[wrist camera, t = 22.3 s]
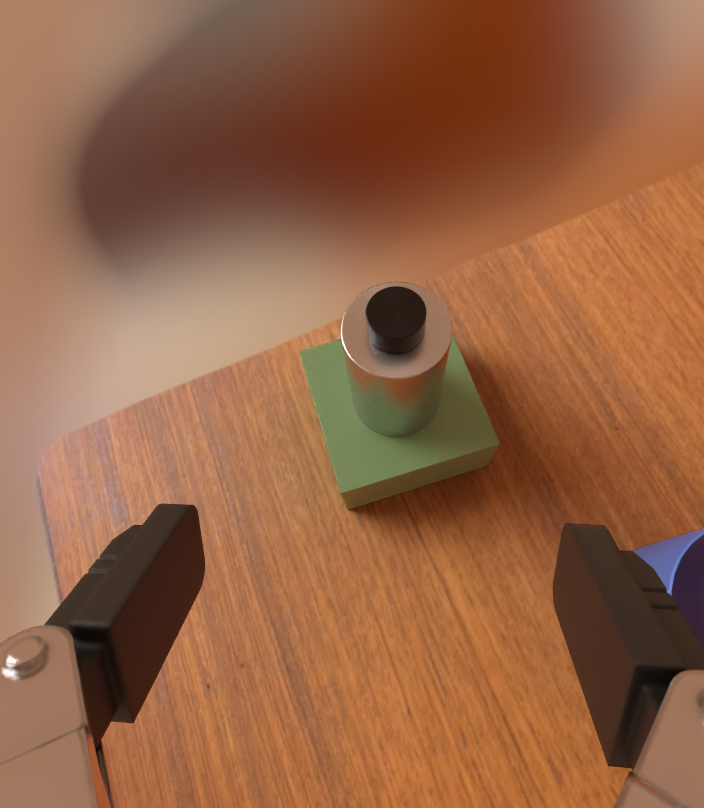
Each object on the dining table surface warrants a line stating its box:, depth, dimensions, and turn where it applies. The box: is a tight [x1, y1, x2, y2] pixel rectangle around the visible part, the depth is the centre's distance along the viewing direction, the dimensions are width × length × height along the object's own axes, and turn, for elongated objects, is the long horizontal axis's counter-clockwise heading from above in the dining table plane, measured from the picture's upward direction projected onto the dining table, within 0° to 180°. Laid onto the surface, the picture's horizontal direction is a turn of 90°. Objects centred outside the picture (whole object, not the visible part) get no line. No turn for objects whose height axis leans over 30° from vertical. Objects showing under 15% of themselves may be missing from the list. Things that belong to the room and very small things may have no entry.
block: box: [299, 333, 500, 510], centre depth 36 cm, size 10×10×5 cm
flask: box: [340, 282, 452, 437], centre depth 29 cm, size 5×5×10 cm
